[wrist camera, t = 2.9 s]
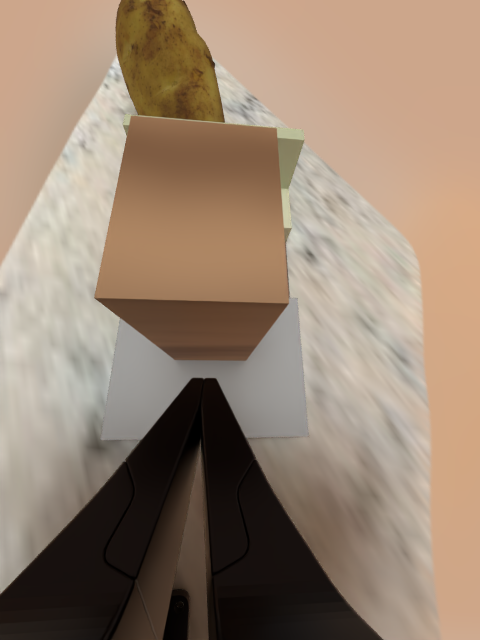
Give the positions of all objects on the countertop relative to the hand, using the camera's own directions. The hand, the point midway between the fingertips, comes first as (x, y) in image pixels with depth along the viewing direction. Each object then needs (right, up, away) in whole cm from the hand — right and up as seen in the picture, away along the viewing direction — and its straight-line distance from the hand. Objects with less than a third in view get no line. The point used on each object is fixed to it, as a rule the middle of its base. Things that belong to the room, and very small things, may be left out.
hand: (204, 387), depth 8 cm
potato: (-5, +21, +15) cm, 26 cm away
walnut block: (-1, +3, +8) cm, 8 cm away
